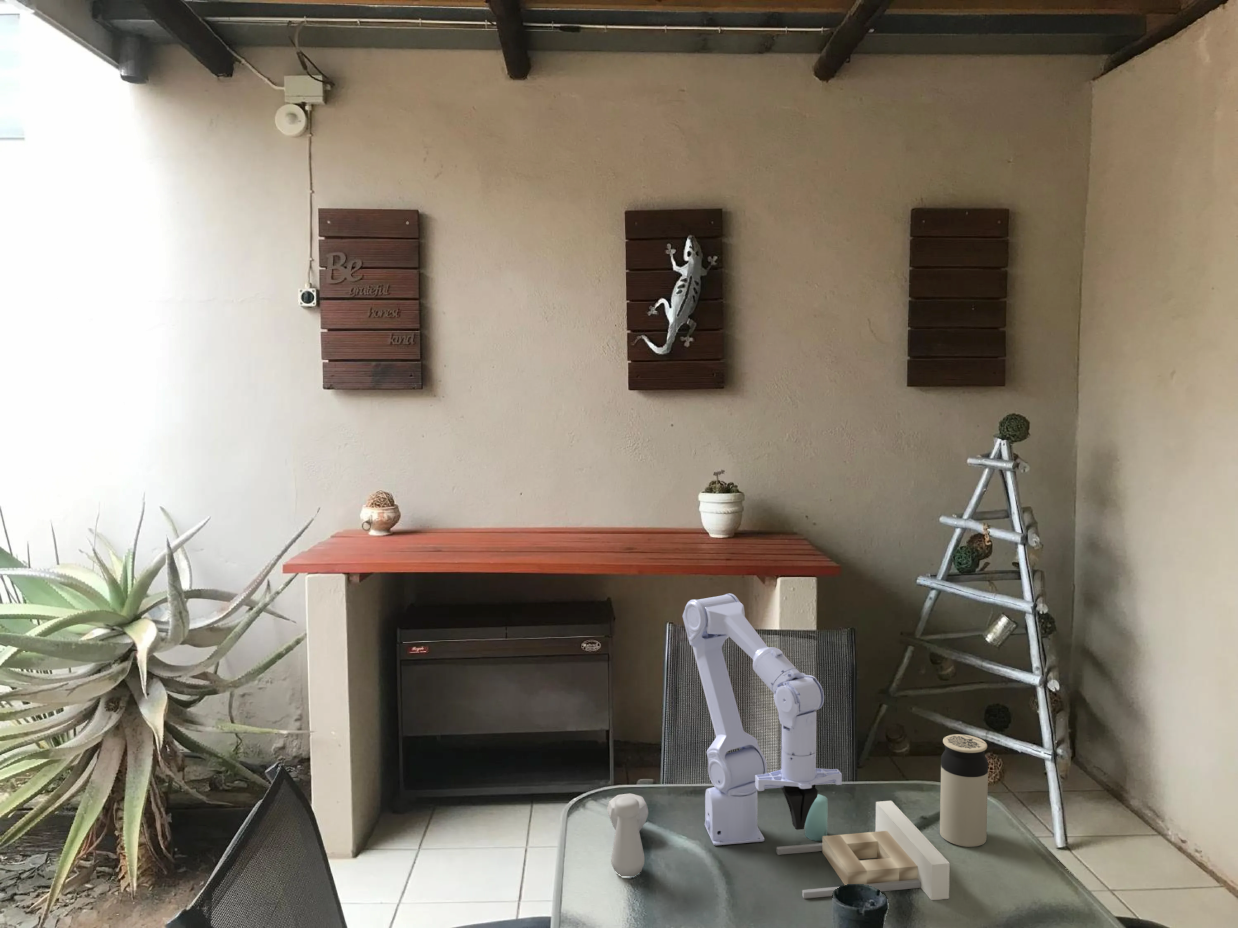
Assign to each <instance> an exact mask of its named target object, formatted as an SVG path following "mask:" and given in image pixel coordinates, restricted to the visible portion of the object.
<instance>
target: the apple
mask: <svg viewBox="0 0 1238 928" xmlns="http://www.w3.org/2000/svg"><path fill="white" fill-rule="evenodd" d="M627 796H628V797H633V798H635V799H637V800H638V802H639V805H640V806H639V814H638V815H637V816H636V818H637V823H638V828H639V832H640V831H641V830H642V829H643V827H644V826H645V824H646V821H647V818H648V816H649V809H648V805H647V802H646V800H645V799H644V797H643V796H642V795H638V794H634V793H624V794H623V793H621V794H616V796H614V797H613V798H612V799H611V800H609V801H608V805H607V807H606V810H607V813H608V816H609V819H610V823H611V824H612V827H613V828H614V830H615V831H616V826H617V820H618V816H617V815H616V814H615V809H614V807H615V802H616V801H617V800H618V799H619V798H621V797H627Z"/></svg>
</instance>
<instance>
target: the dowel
mask: <svg viewBox="0 0 1238 928" xmlns="http://www.w3.org/2000/svg"><path fill="white" fill-rule="evenodd" d="M804 831H805V832H804V835H805V836H804V837H806V838H807V839H808V840H811V841H815V842H820V841H823V836H828V798H827V797H826V796H825V795H822V794H819V793H818V795H817V798H816V799H815V801H814V802H813V804H812V806H811V808H810V810H809V812H808V815H807V818H806V822H805V826H804Z"/></svg>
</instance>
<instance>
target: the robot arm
mask: <svg viewBox="0 0 1238 928" xmlns="http://www.w3.org/2000/svg"><path fill="white" fill-rule="evenodd" d="M681 617H682V620H683V624H684V628H685V631H686V636H687V639H688V642H689V646H691V647H692V649H693V651H692V652H693V654H694V658H695V662H696V666H697V669H698V673H699V677H700V678H699V679H700V682H701V685H702V688H703V692H704V696H705V699H706V700H705V701H706V703H707V709H708V711H709V712H708V713H709V717H710V718H711V723H712V727H713V730H714V735H715V738H714V740H713V741H712V743H711V744H710V746H709V747H708V748H707V750H706V756H707V763H708V768H707V771H708V776H709V779H710V781H711V784H712V785H713V786H714V787H709V788H706V789H705V795H704V806H705V807H704V810H705V811H704V814H705V816H704V820H705V821H704V827H705V829H706V832H707V833H708V835H709V837H710V841H711V842H712V844H713V845H714V846H722V845H723V846H725V845H735V844H746V843H747V844H748V843H759V842H764V841H765V837H764V835H763V834H762V832H761V830H760V828H759V827H758V792H762V791H765V789H766V790H767V789H777V788H779V789H781V791H782V793H783V795H784V798H785V800H786V803H787V805H788V808H789V812H790V816H791V823H792V826H793V827H794V829H795V830H797V831H798V830H800V831H801V830H805V822H806V818H807V815H808V812H809V810H810V808H811V806H812V804H813V802H814V801H815V799H816V798H817V795H818V794H819V791H818V789H817V787H816V786H818V785H829V784H830V785H831V784H834V785H835V786H839V785H840V786H842V785H843V784H842V782H843V774H842V772H841V771H840V770H839V769H838V768H833V769H832V768H831V769H830V768H818V767H817V710H820V709H821V708H822V707H823V705H824V702H825V693H824V689H823V686H822V685H821V682H820V681H818V679H817V677H815V676H813V675H810V674H807V673H804V672H800V671H799V670H798V669H797V667H795V665H794V664H793V663H792V662H791V661H790V660H789V659H788V657H786V655H784V652H783V651H782V650H781V649H780V648H778V647H774V646H769V647H768V645H767V643H765V642H764V640H763V639H762V637H761V636H760V635H759V634H758V631H756V630H755V629H754V627H753V625H752V624H751V622H750V621H748V619H747V618H746V613H745V606H744V604H743V603H741V601H740V600H739V598H738V597H737V596H736V595H735V594H733V593H725V594H723V595H718V596H712V597H706V598H700V599H690V600H689V601H687V603H686V605H685V606H684V610H683V613H682V616H681ZM729 638H730V639H731V640H732V641H733V642H734V643H735V644H736V645H737V646H738V647H739V648H741V650H742V651H743V652H744V653H745V654H746V655H747V656H748V657H750V658H751V659H752V669H753V671H754V673H755V674H756V675H757V676H758V677H759V678H760V680H761V681H762V682H763V683H764V684H765V685H766V687H767V688H768V689H769V690H770V691H771V692H772V693H773V701H774V705H775V707H776V709H777V712H778V720H779V724H780V725H781V749H780V750H781V751H780V752H781V756H780V757H781V759H780V760H781V761H780V763H781V764H780V765H781V768H780V769H778V770H774V771H771V772H767V771H768V763H767V760H766V757H765V755H764V753H763V751H762V750H761V748H760V746H759V741H758V739H757V738H756V737H754V736H753V735H751V734H750V733H748V732H746V731H744V730H745V729H744V728H743V723H742V720H741V719H742V718H741V716H740V712H739V708H738V705H737V701H736V698H735V697H736V696H735V694H734V690H733V686H732V683H731V677H730V676H729V675H730V674H729V670H728V666H727V663H726V659H725V657H724V653H723V649H722V648H723V645H724V643H725V641H726V640H727V639H729ZM736 749H739V750H736ZM732 750H735V751H732ZM729 751H730V752H729Z"/></svg>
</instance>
